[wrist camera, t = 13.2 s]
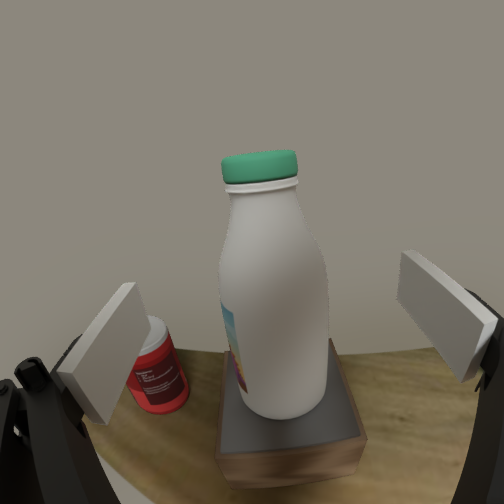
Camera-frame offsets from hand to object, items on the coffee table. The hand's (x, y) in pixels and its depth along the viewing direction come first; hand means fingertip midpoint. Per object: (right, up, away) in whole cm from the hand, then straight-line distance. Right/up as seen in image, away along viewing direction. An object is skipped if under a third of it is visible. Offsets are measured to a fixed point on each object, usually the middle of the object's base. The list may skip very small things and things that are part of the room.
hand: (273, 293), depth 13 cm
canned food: (-13, -18, +21) cm, 30 cm away
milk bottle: (+2, -11, +11) cm, 15 cm away
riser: (+3, -18, +13) cm, 23 cm away
